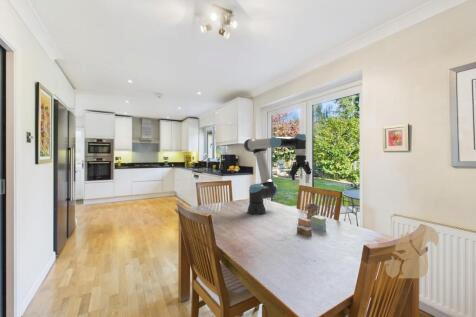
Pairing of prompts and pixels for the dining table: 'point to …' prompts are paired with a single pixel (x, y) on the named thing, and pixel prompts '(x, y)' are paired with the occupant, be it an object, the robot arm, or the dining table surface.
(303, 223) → the terracotta brick
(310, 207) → the mug
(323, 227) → the blue brick
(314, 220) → the sage brick
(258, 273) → the dining table surface
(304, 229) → the walnut brick
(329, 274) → the dining table surface
